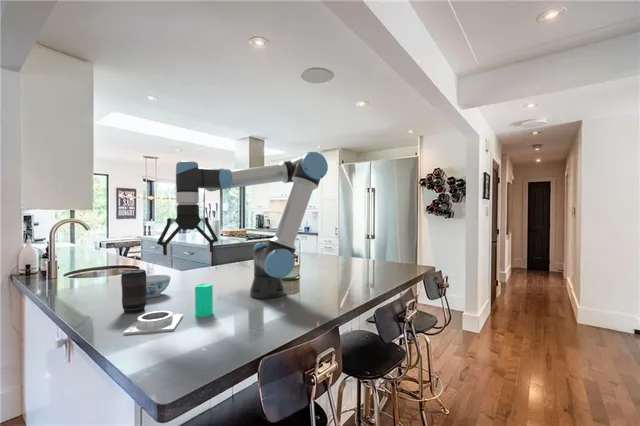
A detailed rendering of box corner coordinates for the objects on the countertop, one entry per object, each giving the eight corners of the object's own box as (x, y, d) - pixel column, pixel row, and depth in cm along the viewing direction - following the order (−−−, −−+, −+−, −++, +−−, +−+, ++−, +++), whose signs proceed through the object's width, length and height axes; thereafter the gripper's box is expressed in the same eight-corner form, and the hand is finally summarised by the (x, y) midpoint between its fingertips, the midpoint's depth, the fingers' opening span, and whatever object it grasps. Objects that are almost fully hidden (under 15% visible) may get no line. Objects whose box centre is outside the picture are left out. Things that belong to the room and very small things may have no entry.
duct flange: (182, 316, 112) (182, 307, 112) (173, 330, 98) (173, 321, 98) (139, 319, 108) (139, 310, 108) (123, 334, 95) (123, 324, 95)
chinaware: (148, 290, 149) (148, 274, 149) (177, 291, 147) (177, 275, 147) (124, 299, 134) (124, 281, 134) (156, 300, 132) (156, 282, 132)
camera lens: (123, 309, 120) (123, 270, 120) (147, 306, 123) (147, 268, 123) (119, 315, 113) (119, 273, 113) (145, 312, 116) (145, 272, 116)
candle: (209, 316, 111) (209, 282, 111) (192, 316, 111) (192, 282, 111) (215, 311, 117) (214, 279, 117) (199, 311, 117) (198, 279, 117)
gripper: (222, 204, 123) (223, 258, 123) (150, 204, 113) (151, 263, 113) (224, 203, 116) (225, 261, 116) (147, 204, 106) (149, 267, 107)
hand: (189, 262), depth 115 cm, fingers open, 13 cm apart
